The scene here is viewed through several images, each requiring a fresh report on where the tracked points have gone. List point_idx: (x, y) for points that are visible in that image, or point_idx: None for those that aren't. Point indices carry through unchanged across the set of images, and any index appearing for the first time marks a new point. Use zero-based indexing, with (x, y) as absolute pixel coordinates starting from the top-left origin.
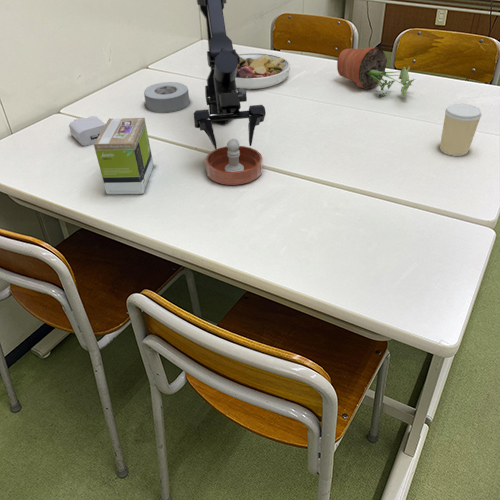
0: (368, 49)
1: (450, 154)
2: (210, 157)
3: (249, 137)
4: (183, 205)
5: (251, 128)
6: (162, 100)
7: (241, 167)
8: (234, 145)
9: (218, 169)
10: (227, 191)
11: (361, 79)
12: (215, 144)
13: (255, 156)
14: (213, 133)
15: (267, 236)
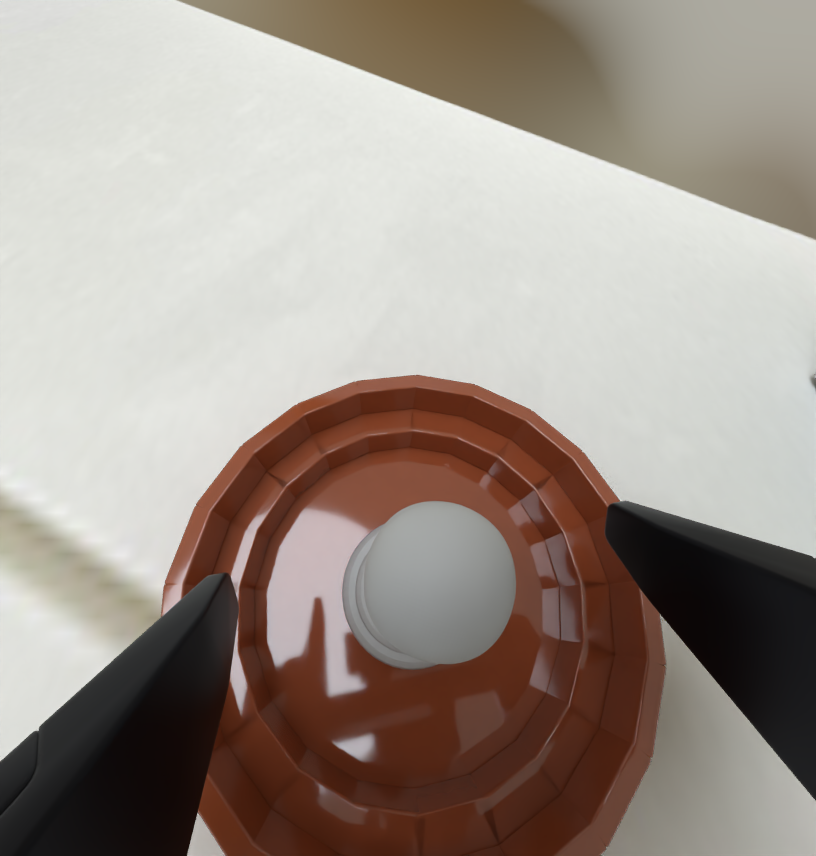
0: None
1: None
2: (626, 670)
3: (189, 638)
4: (601, 298)
5: (14, 801)
6: None
7: (360, 569)
8: (421, 503)
9: (522, 604)
10: None
11: None
12: (648, 514)
13: (222, 738)
14: (811, 586)
15: (285, 146)
